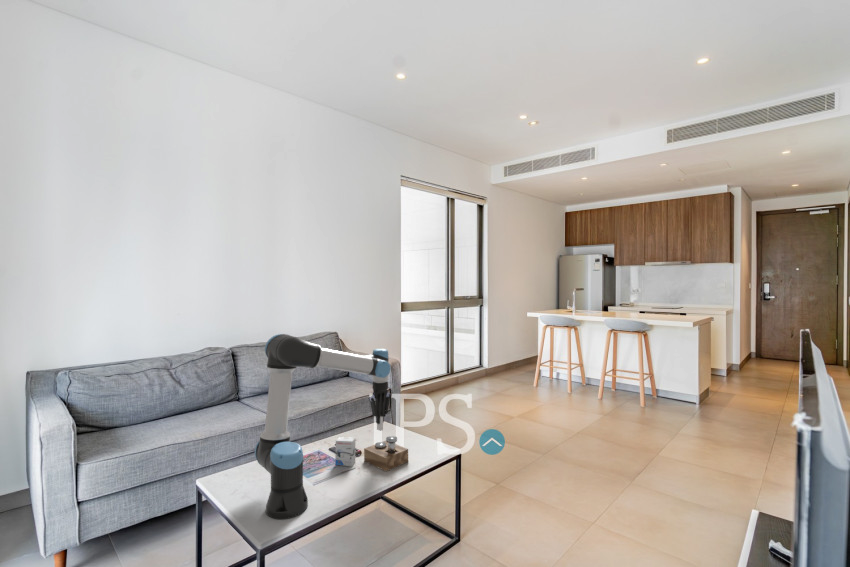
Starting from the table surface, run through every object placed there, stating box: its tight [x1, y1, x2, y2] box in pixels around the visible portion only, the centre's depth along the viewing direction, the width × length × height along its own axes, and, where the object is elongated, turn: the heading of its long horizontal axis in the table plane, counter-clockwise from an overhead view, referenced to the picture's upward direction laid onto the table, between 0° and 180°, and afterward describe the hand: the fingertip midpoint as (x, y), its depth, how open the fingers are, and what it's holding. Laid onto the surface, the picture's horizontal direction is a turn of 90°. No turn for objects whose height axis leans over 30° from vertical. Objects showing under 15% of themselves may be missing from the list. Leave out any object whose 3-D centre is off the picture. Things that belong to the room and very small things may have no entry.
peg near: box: [385, 435, 398, 454], centre depth 197 cm, size 5×5×7 cm
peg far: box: [374, 441, 386, 449], centre depth 203 cm, size 5×5×7 cm
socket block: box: [363, 440, 409, 472], centre depth 200 cm, size 14×16×6 cm
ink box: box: [334, 436, 356, 467], centre depth 197 cm, size 9×5×12 cm, turn 84°
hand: (379, 429), depth 202 cm, fingers closed
